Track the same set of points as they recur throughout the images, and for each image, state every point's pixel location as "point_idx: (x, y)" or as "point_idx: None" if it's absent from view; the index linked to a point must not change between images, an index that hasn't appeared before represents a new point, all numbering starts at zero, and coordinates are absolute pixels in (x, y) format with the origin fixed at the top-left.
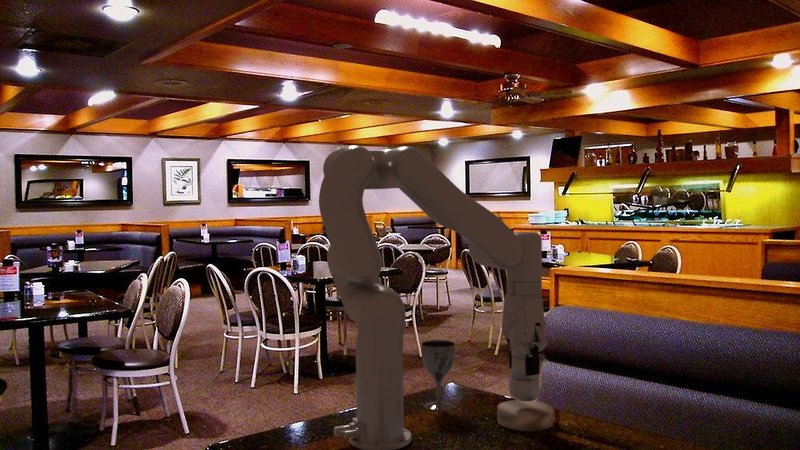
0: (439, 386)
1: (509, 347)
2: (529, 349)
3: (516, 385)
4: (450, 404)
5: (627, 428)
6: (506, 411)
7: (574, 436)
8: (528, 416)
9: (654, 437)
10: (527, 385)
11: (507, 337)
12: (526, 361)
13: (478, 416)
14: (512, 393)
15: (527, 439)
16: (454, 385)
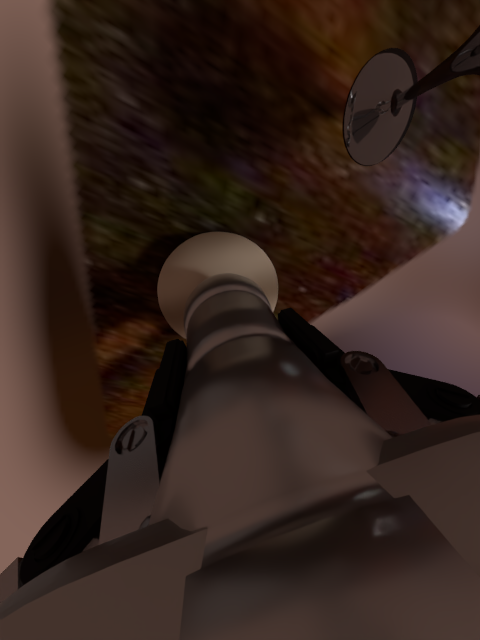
0: (442, 67)
1: (365, 365)
2: (106, 491)
3: (200, 292)
4: (370, 155)
5: None
6: (206, 247)
7: (133, 343)
8: (161, 287)
9: None
10: (184, 323)
11: (440, 450)
12: (159, 384)
13: (275, 201)
14: (215, 275)
15: (111, 257)
16: (457, 227)
